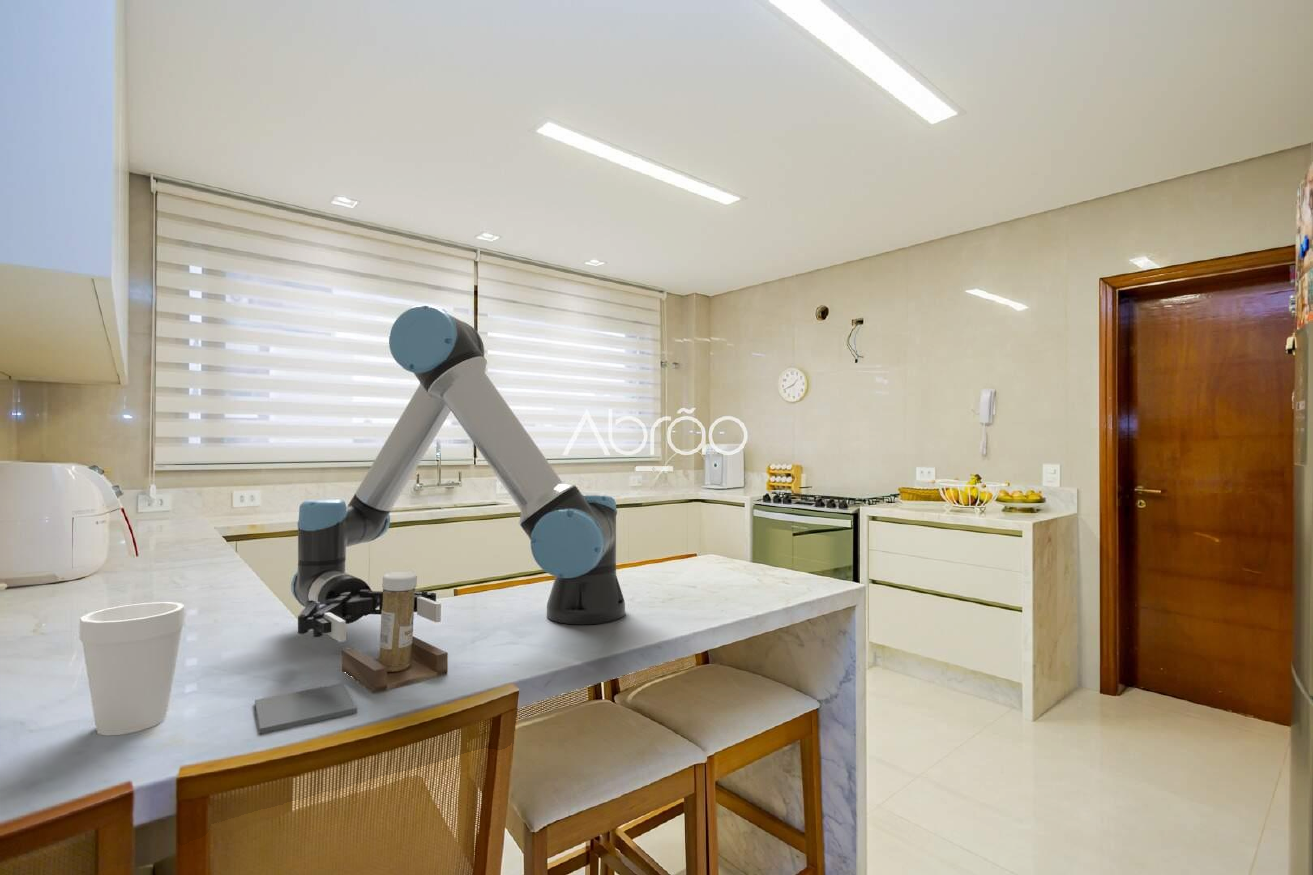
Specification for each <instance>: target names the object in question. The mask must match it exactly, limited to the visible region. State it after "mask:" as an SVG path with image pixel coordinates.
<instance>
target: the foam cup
mask: <svg viewBox="0 0 1313 875" xmlns="http://www.w3.org/2000/svg"><path fill="white" fill-rule="evenodd" d="M185 607H186V606H185V605H184V604H183V603H181V602H173V601H157V602H155V601H154V602H143V603H135V604H126V605H125V604H124V605H119V606H114V607H113V606H112V607H109V608H103V609H100V610H97V611H96V610H95V611H92V612H88V613H86V614H84V615H82V616H81V617H79V638H78V639H79V640H80V641H81V643H82V648H83V654H84V656H83V657H84V660H85V668H86V674H87V680H88V681H87V682H88V688H89V694H90V698H91V707H92V713H93V720H94V725H95V727H96V729H95V730H96V732H97V734H98V735H102V736H117V735H118V736H121V735H126V734H130V733H132V734H133V733H137V732H139V731H143V730H146V729H149V728H152V727H154V726H156V725H158V724H160V723H162V722H164V721H165V719H166V718H167V716H168V712H169V707H170V702H171V701H170V700H171V694H172V691H173V690H172V689H173V684H174V678H175V672H176V666H177V662H178V660H177V659H178V655H179V648H180V642H181V636H182V631H183V627H184V626H185V625H186V624H185V623H186V622H185V620H186V619H185V618H186V613H185V612H186V608H185Z"/></svg>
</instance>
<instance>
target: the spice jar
mask: <svg viewBox="0 0 1313 875" xmlns="http://www.w3.org/2000/svg"><path fill="white" fill-rule="evenodd" d="M417 584H418V575H417V574H416V573H415V572H410V571H391V572H387V573H385V574H384V575H383V577H382V584H381V586H382V591H383V605H382V612H381V618H380V633H379V634H380V636H379V657H378V658H379V663H380V664H382V665H384V666H385V667H387V672H399V671H402V670H405V669H407V668H409V667H410V666H411V664H412V661H411V647H412V638H413V637H414V636H413V635H414V616H415V612H414V595H415V591H416V588H417Z"/></svg>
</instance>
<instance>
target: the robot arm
mask: <svg viewBox="0 0 1313 875" xmlns="http://www.w3.org/2000/svg"><path fill="white" fill-rule="evenodd" d="M388 338H389V339H388V347H389V350H390V354H391V356H392V358H393V359H394V360H395V362H396V363H397V364H398V365H399V366H400V367H401V368H402V369H404V370H405V371H407V372H410V373H413V374H414V376H415V377H416V379H417V380H418V381H419V385H418V387H417V389H416V390H415V392H414V394H413V395H412V397H411V399H410V400H409V402H408V404H407V405H406V407H405V409H404V411H403V412H402V413H401V415H400V417H399V418H398V420H397V421H396V422H397V423H396V424H395V426H394V427H393V428H392V431H391V432H390V434H389V436H388V437H387V439H386V441H385V443H384V444H383V445H382V447H381V449H380V451H379V453H378V454H377V455H376V457H375V460H374V461H373V462H372V465H370V467H369V469H368V471H367V473H366V475H365V476H364V477H363V479H362V481H361V483H360V484H359V486H358V488H357V490H356V491H355V493H354V495H353V496H352V498H351V500H350V501H349V503H348V505H347V504H346V502H345V501H344V500H343V499H338V498H337V499H336V498H334V499H332V498H327V499H325V498H324V499H309V500H305V501H303V502H301V503H300V505H299V509H298V510H299V512H298V519H297V520H298V521H297V571H296V573H295V574H294V575H293V577H292V580H291V582H290V590H291V591H290V592H291V594H292V596H293V597H294V599H295V600H296V601H298V603H299V604H300V605H301V606H303V610H302V611H300V613H299V614H298V615H297V634H298V635H304V634H306V633H308V632H309V631H310V630H312V636H313V637H312V638H321V637H323V634H325V635H328V636H329V637H331V638H333V639H334V640H336V641H337V642H339V643H342V642H346V640H347V635H346V634H347V632H346V630H347V625H348V624H353V623H355V622H357V621H359V620H360V619H361V618H362V617H366V616H369V615H381V612H382V605H383V590H381V591H376V590H374V591H373V590H372V589H371V587H370V586H369V584H368V583H367V582H366V581H364V580H363V579H361V578H359V577H356V576H354V575H352V574H349V573H346V560H347V558H346V557H347V556H346V554H347V548H348V547H352V546H354V545H359V544H362V543H369V542H371V541H374V540H376V539H378V538H380V537H382V536H383V535H385V533H387V531H388V530H389V528H390V524H391V516H390V513H391V511H392V510H393V508H394V506H395V505H396V503H397V501H398V499H399V498H400V496H401V495H402V493H403V491H404V489H405V488H406V486H407V485H408V483H409V482H410V480H411V478H412V476H413V474H414V473H415V471H416V470H417V468H418V467H419V464H420V463H421V461H422V460H423V458H424V456H425V455H426V452H427V451H428V450H429V447H430V446H431V445H432V443H433V441H434V440H435V438H436V436H437V435H438V433H439V431H440V430H441V428H442V426H443V425H444V423H445V421H446V420H447V418H448V416H449V415H450V413H452V414H453V416H454V417H455V419H456V420H457V422H458V423H459V424H460V425H461V427H462V429H463V430H464V431H465V432H466V434H467V436H468V437H469V439H470V440H471V442H473V444H474V445H475V447H476V449H477V450H478V451H479V453H480V455H481V456H482V457H483V459H484V460H485V461H486V462H487V464H488V466H489V467H490V468H491V470H492V471H493V473H494V475H496V477H497V479H498V480H499V482H500V483H501V484H502V486H503V487H504V489H505V490H506V491H507V493H508V494H509V495H510V498H511V499H512V500H513V502H514V503H515V504H516V506H517V507H518V508H519V510H520V517H519V522H518V523H519V526H520V527H521V529H522V530H523V531H524V532H525V535H526V536H527V537H528V539H529V541H530V550H531V554H532V557H533V559H534V561H535V562H536V564H537V565H538V566H539V568H540V569H541V570H542V571H545V573H547V574H549V575H550V576H553V577H555V579H554V581H553V584H552V588H551V589H550V593H549V597H548V600H547V603H546V617H547V619H549V620H550V621H553V622H557V623H561V624H567V625H568V624H569V625H595V624H604V623H609V622H613V621H617V620H619V619H622V618H623V617H624V616H625V615H626V600H625V598H624V595H623V591H622V588H621V586H620V582H619V579H618V575H617V515H618V509H617V503H616V500H615V499H614V497H612V496H608V495H597V494H591V495H590V494H582V492H581V491H580V489H579V488H578V487H577V486H576V484H573V483H567V482H564V481H562V480H561V478H560V477H559V476H558V474H557V473H556V471H555V470H554V469H553V467H552V465H551V464H550V462H549V461H548V460H547V458H546V457H545V455H544V454H543V453H542V451H541V450H540V448H539V447H538V446H537V444H536V443H535V441H534V440H533V439H532V437H531V436H530V434H529V433H528V432H527V430H526V429H525V427H524V426H523V425H522V423H521V422H520V421H519V419H518V417H517V416H516V415H515V413H514V412H513V410H512V409H511V407H510V406H509V404H508V403H507V402H506V400H505V399H504V398H503V396H502V394H501V393H500V392H499V390H498V389H497V388H496V386H495V385H494V384H493V381H491V379H490V377H489V376H488V375H487V374H486V368H487V364H488V361H487V359H486V357H485V345H484V343H483V340H482V338H481V336H480V334H479V332H477V330H476V329H475V328H474V327H473V326H471V325H470V324H468V323H467V322H465V321H462V320H460V319H459V318H457V317H456V316H454V315H451V314H450V313H449V312H448V311H446V310H445V309H443V308H441V307H437V306H432V305H427V304H423V305H416V306H413V307H410V308H408V309H406V310H405V311H404V312H402V313H401V314H400V315H399V316H397V318H396V319H395V321H394V323H393V324H392V326H391V328H390V333H389V337H388ZM441 606H442V603H440V602H438V601H437V593H436V592H428V590H424V591H416V590H415V595H414V613H416V615H417V616H419V617H421V618H425V619H427V620H429V621H432V622H433V623H440V622H441V621H442V620H441V618H442V617H441V616H442V607H441ZM377 608H378V609H377Z"/></svg>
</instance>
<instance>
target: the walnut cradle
mask: <svg viewBox="0 0 1313 875" xmlns="http://www.w3.org/2000/svg"><path fill="white" fill-rule="evenodd" d="M448 656H449V654H448V652H447V651H444V650H442V649H441V648H438V647H437V646H436V645H432V644H431V643H428V642H426V641H424V640H422V639H419V638H417V637H415V636H413V638H412V647H411V661H412V664H411V666H410V667H409V668H407V669H405V670H402V671H399V672H387V667H385V666H384V665H382V664H380V663H379V657H378V658H372V657H370V656H368V655H366V654H365V653H363V652H361V651H360V650H358V649H357V648H355V647H350V648H346V649H342V650H341V671H342V672H343V673H344V672H346V675H347V674H348V675H349V676H348V675H347V676H348V677H350V676H352V677H353V678H354V679H355V680H354V679H353V678H352V679H353V680H354V681H355V682H357V681H358V682H359V683H358V682H357V683H358V684H360V685H362V686H363V687H364V686H365V688H366V689H367V690H368V691H370V690H371V691H370V692H371V693H373V694H374V693H375V694H377V693H381V692H384V691H385V690H386V691H389V690H392V689H396V688H400V686H401V687H403V686H408V685H411V684H414V683H418V682H422V681H427V680H429V679H430V680H431V679H434V678H437V677H441V676H444V675H448V673H449V672H448V669H449V668H448V660H449V659H448ZM388 689H389V690H388ZM386 691H385V692H386Z"/></svg>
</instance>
